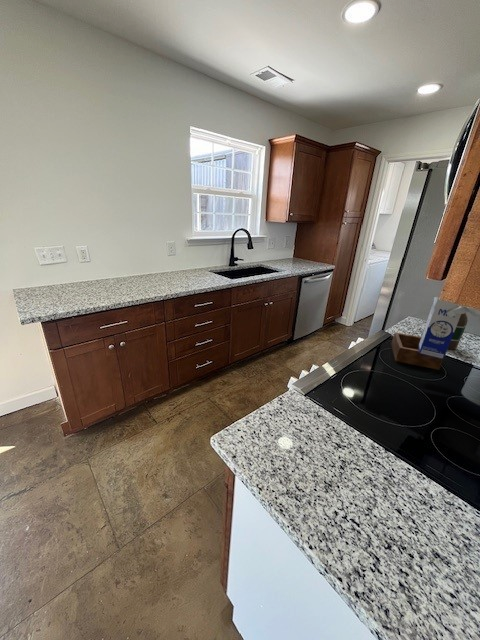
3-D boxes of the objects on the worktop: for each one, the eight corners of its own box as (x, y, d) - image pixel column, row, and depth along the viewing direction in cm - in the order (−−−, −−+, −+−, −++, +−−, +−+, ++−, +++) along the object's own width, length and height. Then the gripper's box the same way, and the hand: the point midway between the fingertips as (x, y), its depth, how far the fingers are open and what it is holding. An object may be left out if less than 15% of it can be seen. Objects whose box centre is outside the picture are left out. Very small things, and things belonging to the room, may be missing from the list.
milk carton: (418, 353, 89) (438, 296, 81) (417, 345, 94) (436, 291, 86) (444, 359, 86) (467, 301, 78) (441, 351, 91) (463, 295, 83)
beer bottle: (457, 352, 110) (480, 297, 101) (435, 346, 114) (455, 293, 104) (455, 344, 116) (477, 292, 107) (434, 339, 120) (453, 289, 110)
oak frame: (429, 351, 110) (434, 338, 108) (439, 369, 98) (444, 356, 95) (391, 344, 115) (394, 332, 112) (395, 361, 102) (399, 347, 100)
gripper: (473, 269, 86) (429, 293, 93) (505, 284, 68) (447, 313, 75) (485, 284, 86) (439, 307, 93) (519, 303, 68) (460, 330, 75)
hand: (443, 310), depth 84 cm, fingers closed on milk carton, 7 cm apart
